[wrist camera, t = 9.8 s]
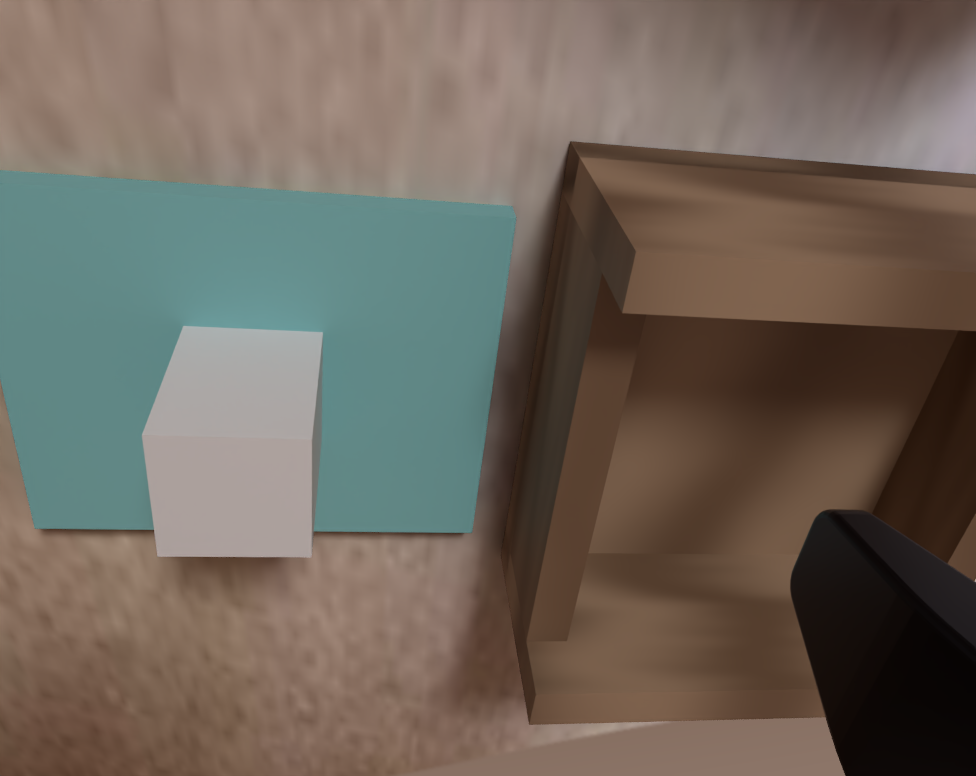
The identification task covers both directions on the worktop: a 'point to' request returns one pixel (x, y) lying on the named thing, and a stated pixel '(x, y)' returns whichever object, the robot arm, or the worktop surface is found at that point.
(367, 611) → the worktop surface
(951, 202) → the walnut box
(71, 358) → the cover plate
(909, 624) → the robot arm
